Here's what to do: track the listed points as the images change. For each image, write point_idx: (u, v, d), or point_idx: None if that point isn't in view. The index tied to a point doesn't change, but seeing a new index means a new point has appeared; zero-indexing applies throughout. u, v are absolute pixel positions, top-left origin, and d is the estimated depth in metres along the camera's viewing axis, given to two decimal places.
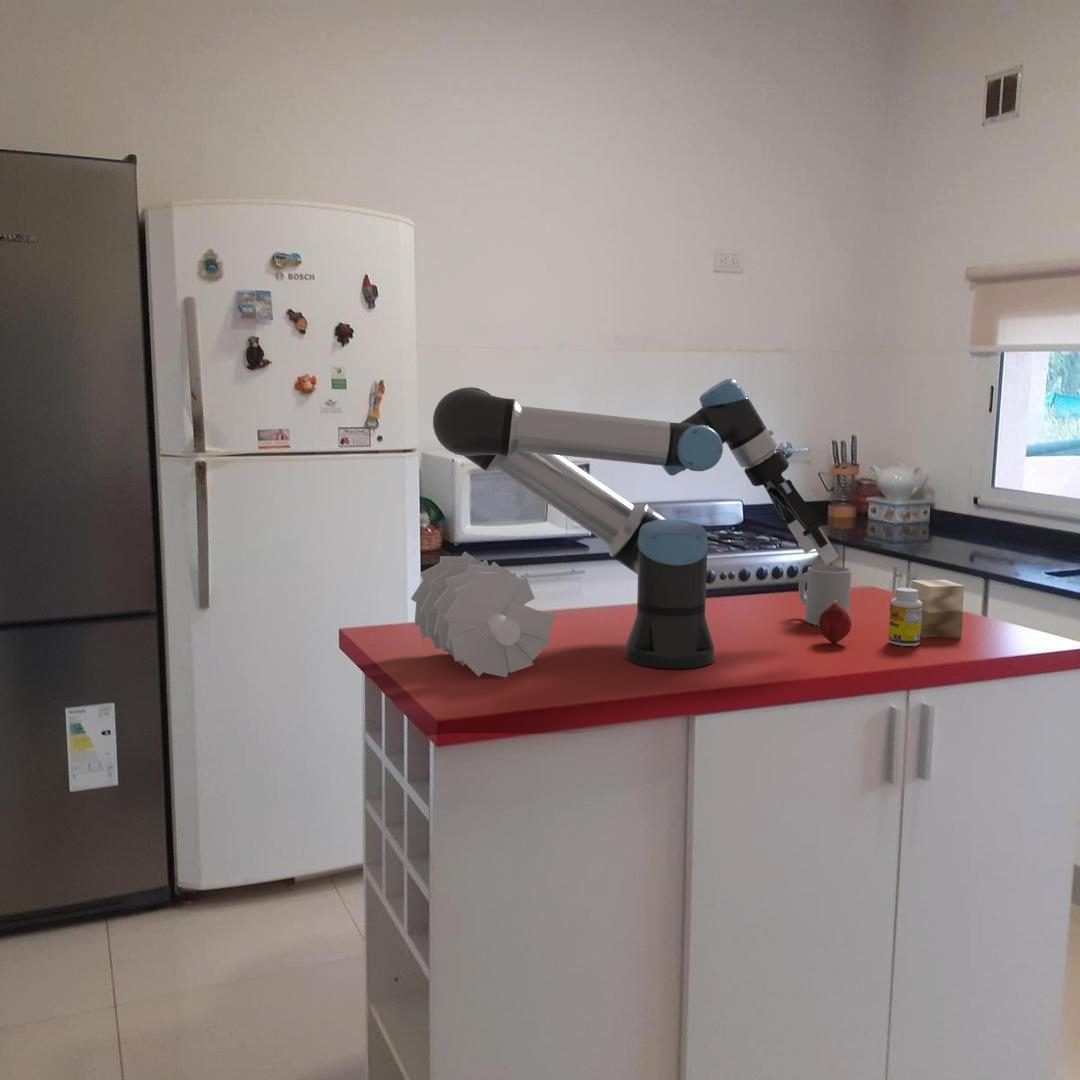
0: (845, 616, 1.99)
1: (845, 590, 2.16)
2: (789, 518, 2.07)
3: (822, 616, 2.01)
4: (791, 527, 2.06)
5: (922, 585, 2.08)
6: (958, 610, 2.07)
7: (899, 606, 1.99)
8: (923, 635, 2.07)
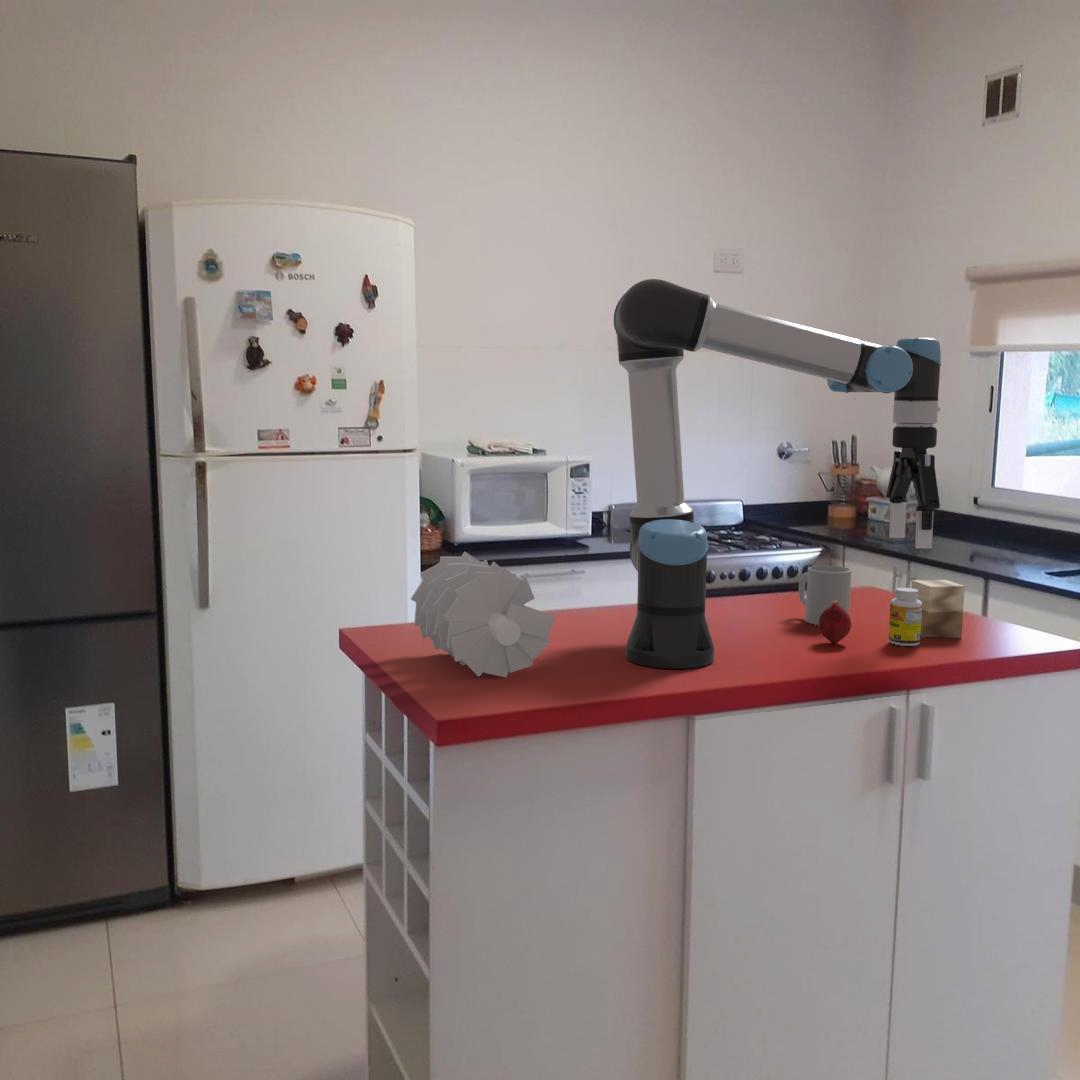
0: (845, 616, 1.99)
1: (845, 590, 2.16)
2: (896, 499, 2.06)
3: (822, 616, 2.01)
4: (893, 507, 2.05)
5: (922, 585, 2.09)
6: (958, 610, 2.07)
7: (899, 606, 1.99)
8: (923, 635, 2.07)
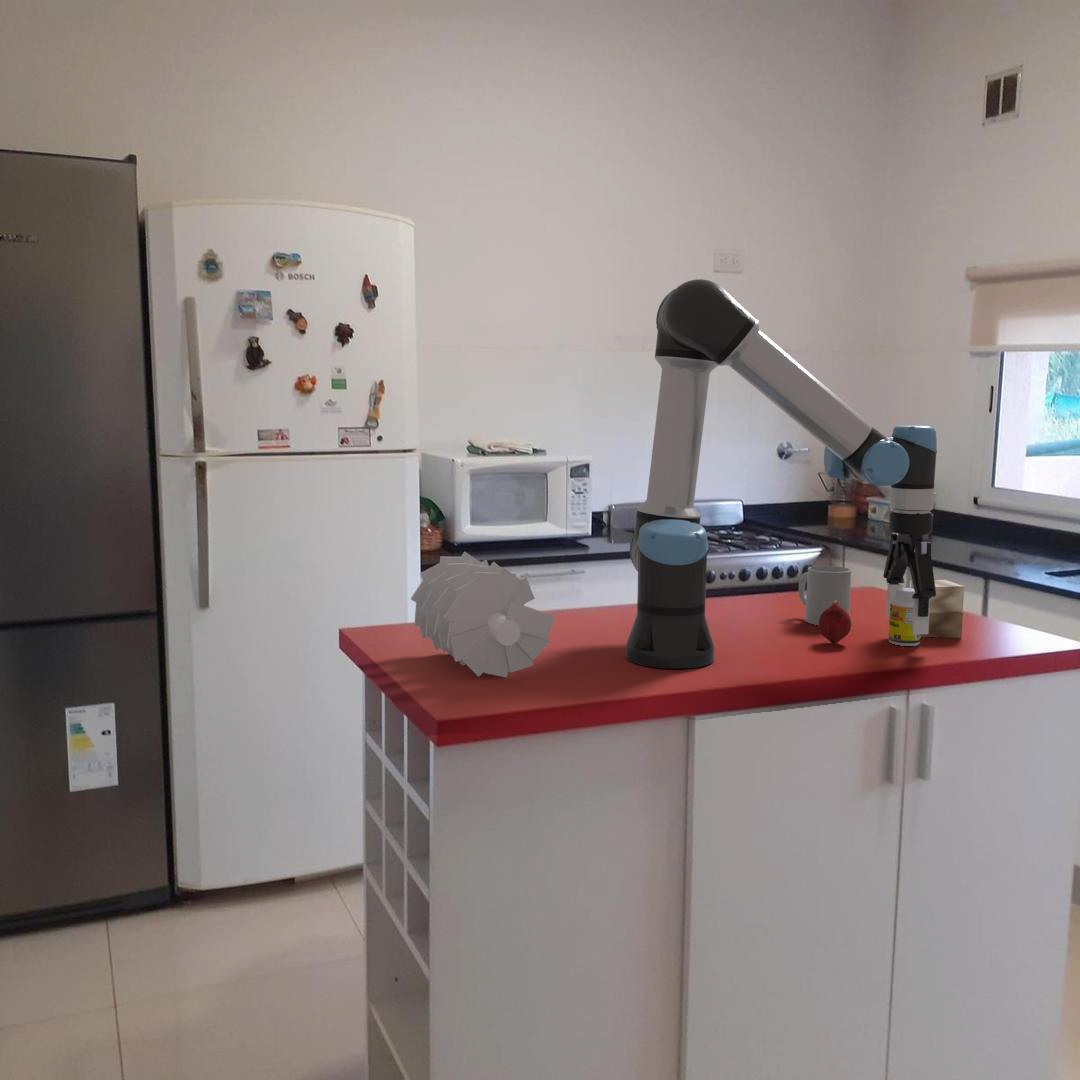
0: (845, 616, 1.99)
1: (845, 590, 2.16)
2: (893, 580, 2.08)
3: (822, 616, 2.01)
4: (890, 588, 2.07)
5: None
6: (958, 610, 2.07)
7: (899, 606, 1.99)
8: (923, 635, 2.07)
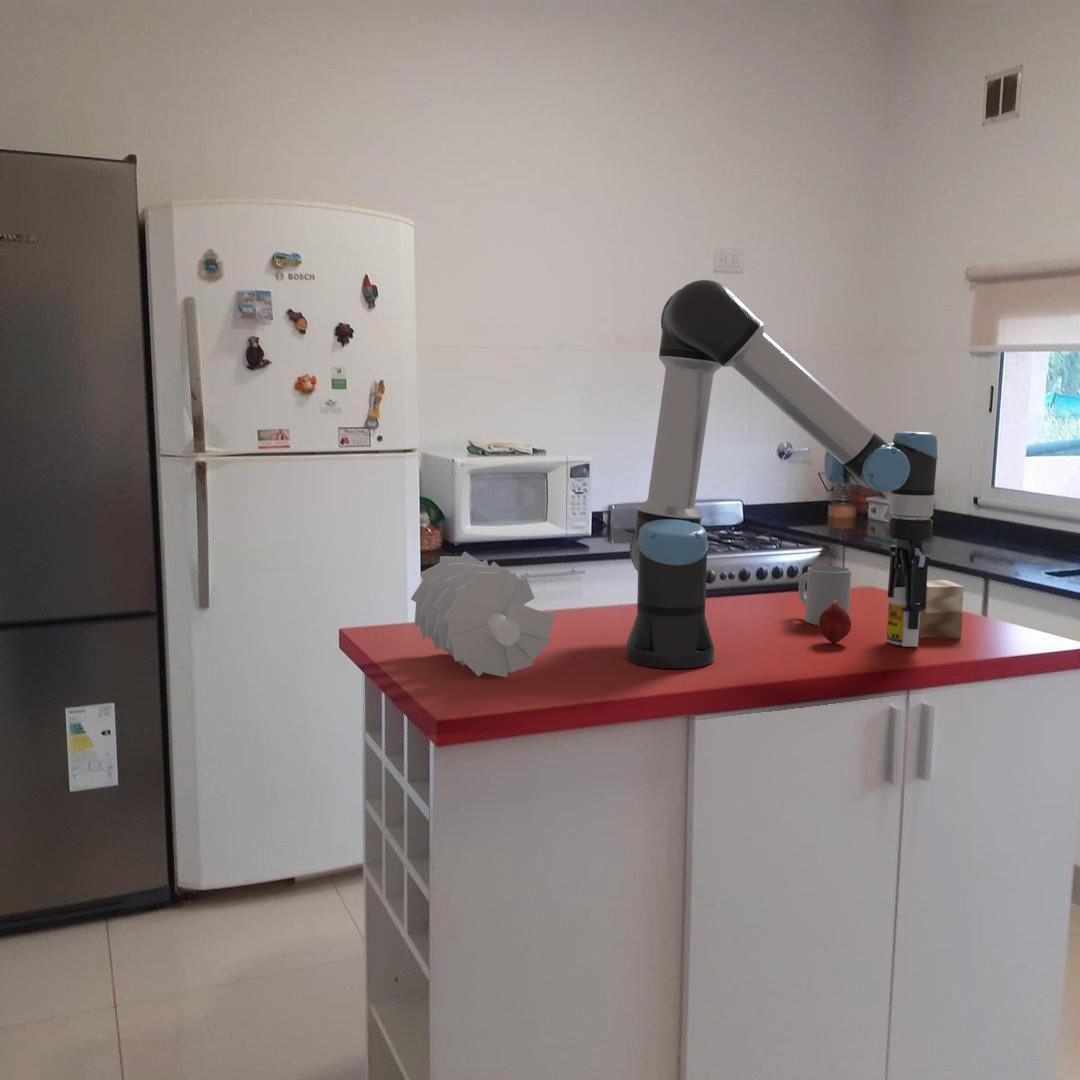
0: (845, 616, 1.99)
1: (845, 590, 2.16)
2: None
3: (822, 616, 2.01)
4: None
5: None
6: (957, 611, 2.07)
7: (897, 605, 1.99)
8: (922, 635, 2.07)
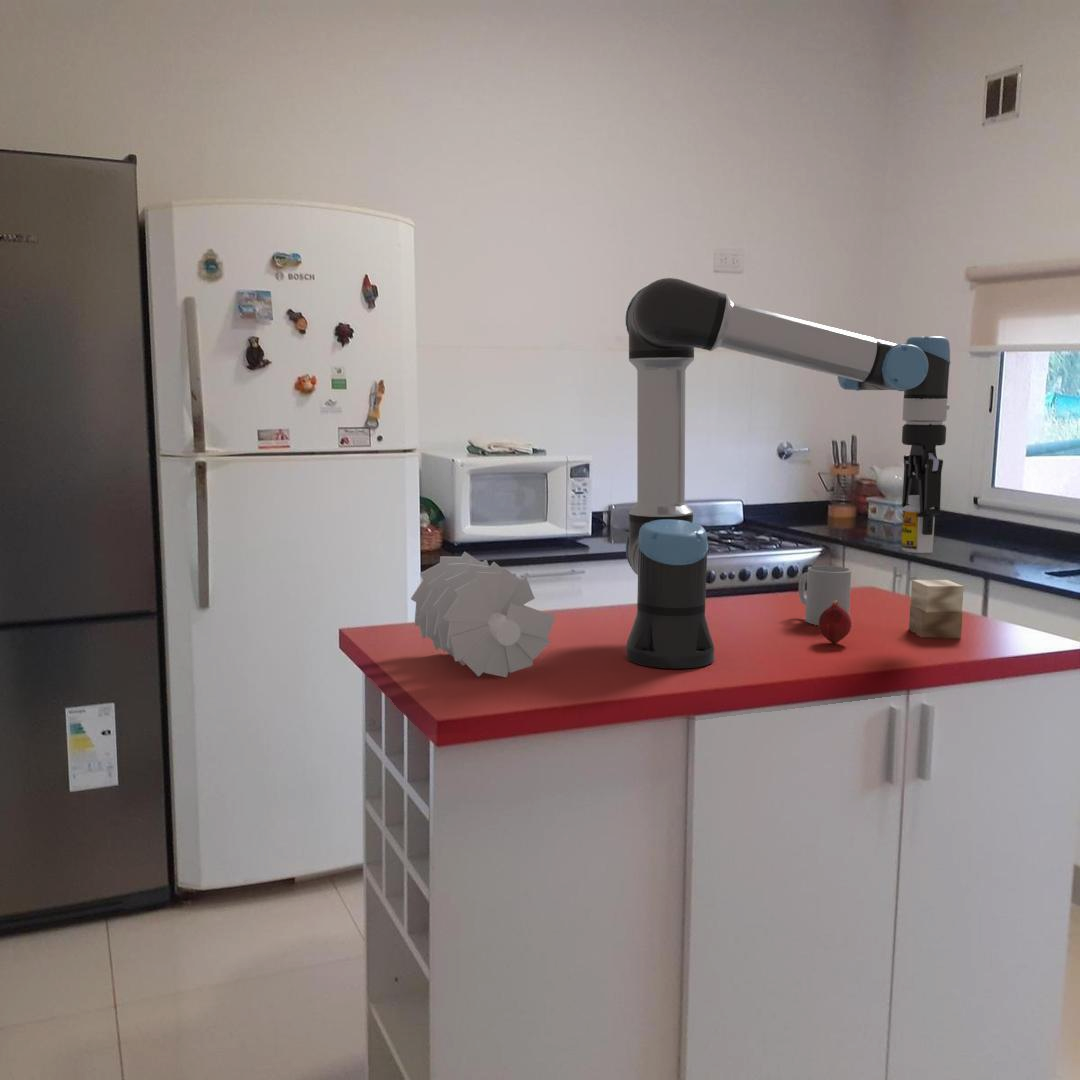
0: (845, 616, 1.99)
1: (845, 590, 2.16)
2: None
3: (822, 616, 2.01)
4: None
5: (921, 585, 2.09)
6: (957, 610, 2.07)
7: (912, 512, 1.99)
8: (922, 635, 2.07)
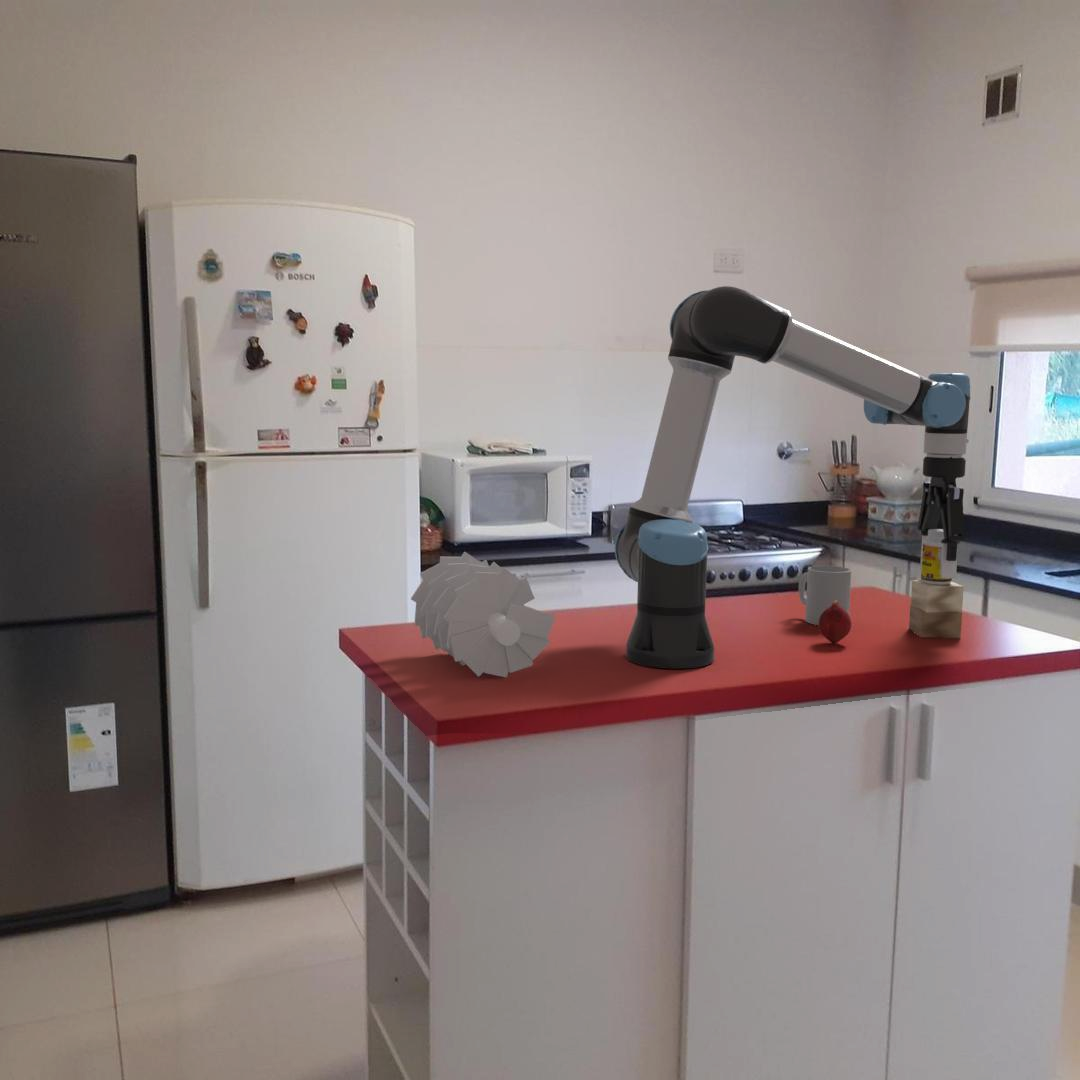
0: (845, 616, 1.99)
1: (845, 590, 2.16)
2: (927, 531, 2.14)
3: (822, 616, 2.01)
4: (924, 539, 2.13)
5: (921, 585, 2.09)
6: (957, 610, 2.07)
7: (932, 546, 2.07)
8: (921, 635, 2.07)
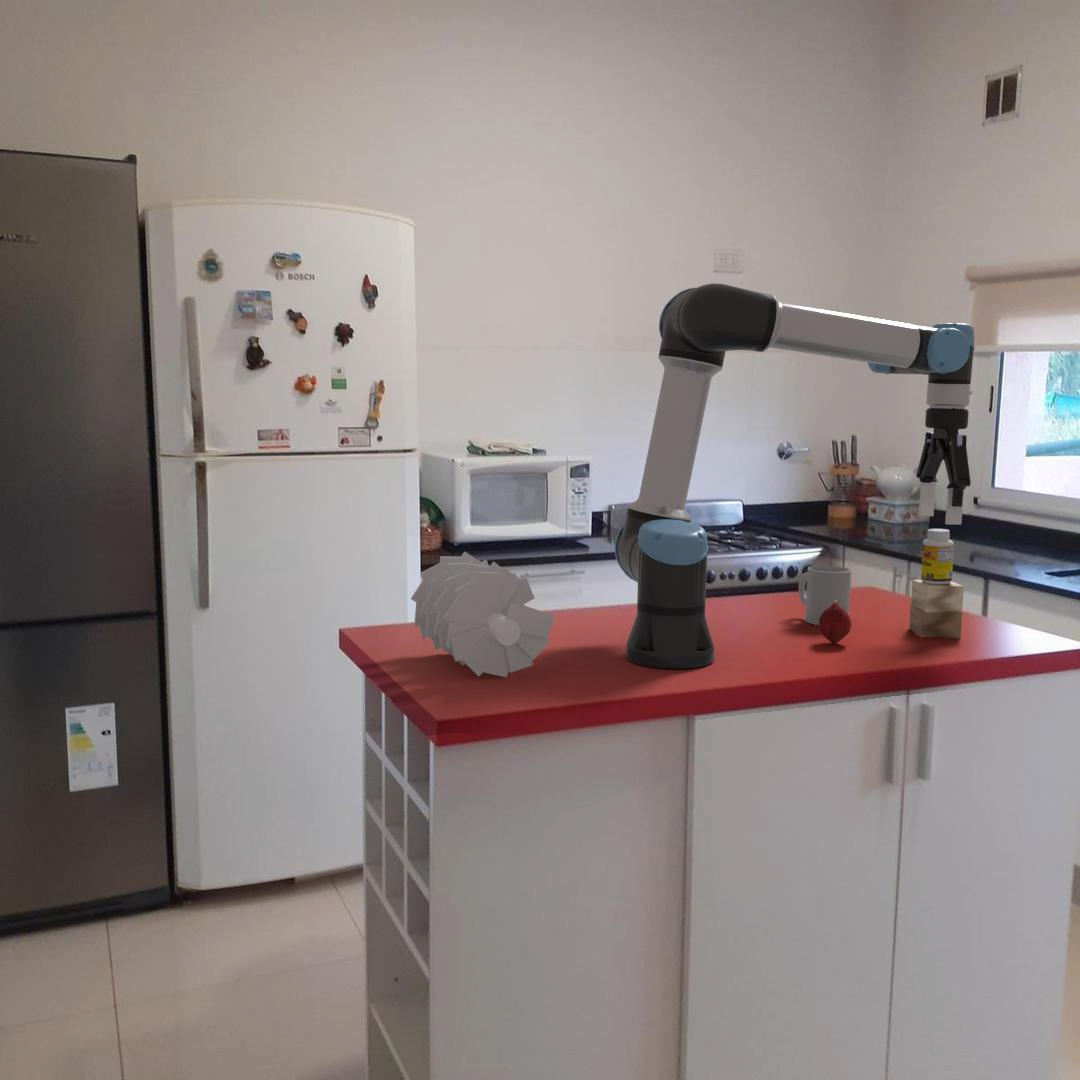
0: (845, 616, 1.99)
1: (845, 590, 2.16)
2: (926, 478, 2.14)
3: (822, 616, 2.01)
4: (923, 486, 2.14)
5: (921, 585, 2.09)
6: (957, 610, 2.07)
7: (931, 546, 2.07)
8: (921, 634, 2.08)
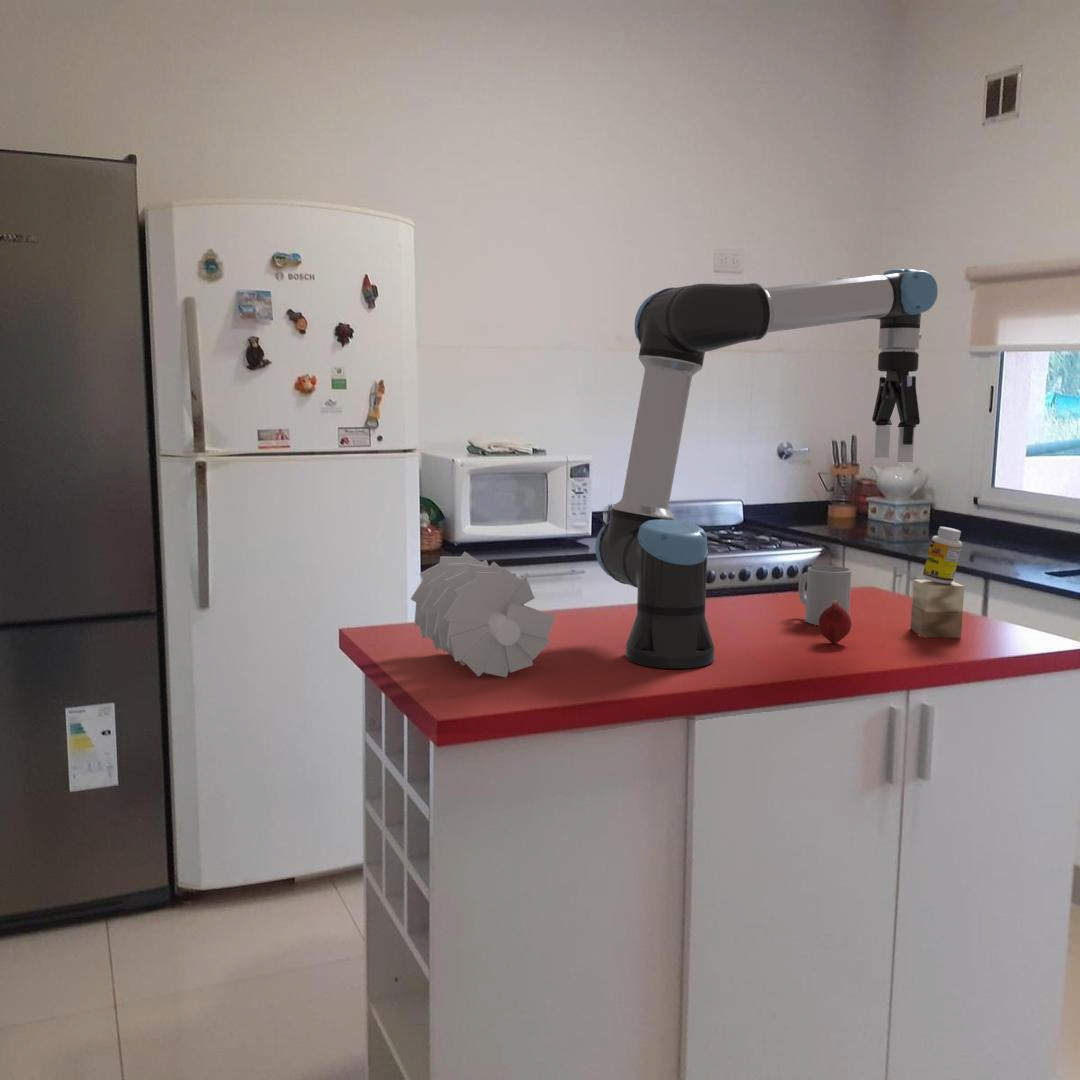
0: (845, 616, 1.99)
1: (845, 590, 2.16)
2: (881, 421, 2.24)
3: (822, 616, 2.01)
4: (878, 429, 2.23)
5: (922, 584, 2.09)
6: (958, 610, 2.07)
7: (942, 544, 2.06)
8: (921, 634, 2.08)
